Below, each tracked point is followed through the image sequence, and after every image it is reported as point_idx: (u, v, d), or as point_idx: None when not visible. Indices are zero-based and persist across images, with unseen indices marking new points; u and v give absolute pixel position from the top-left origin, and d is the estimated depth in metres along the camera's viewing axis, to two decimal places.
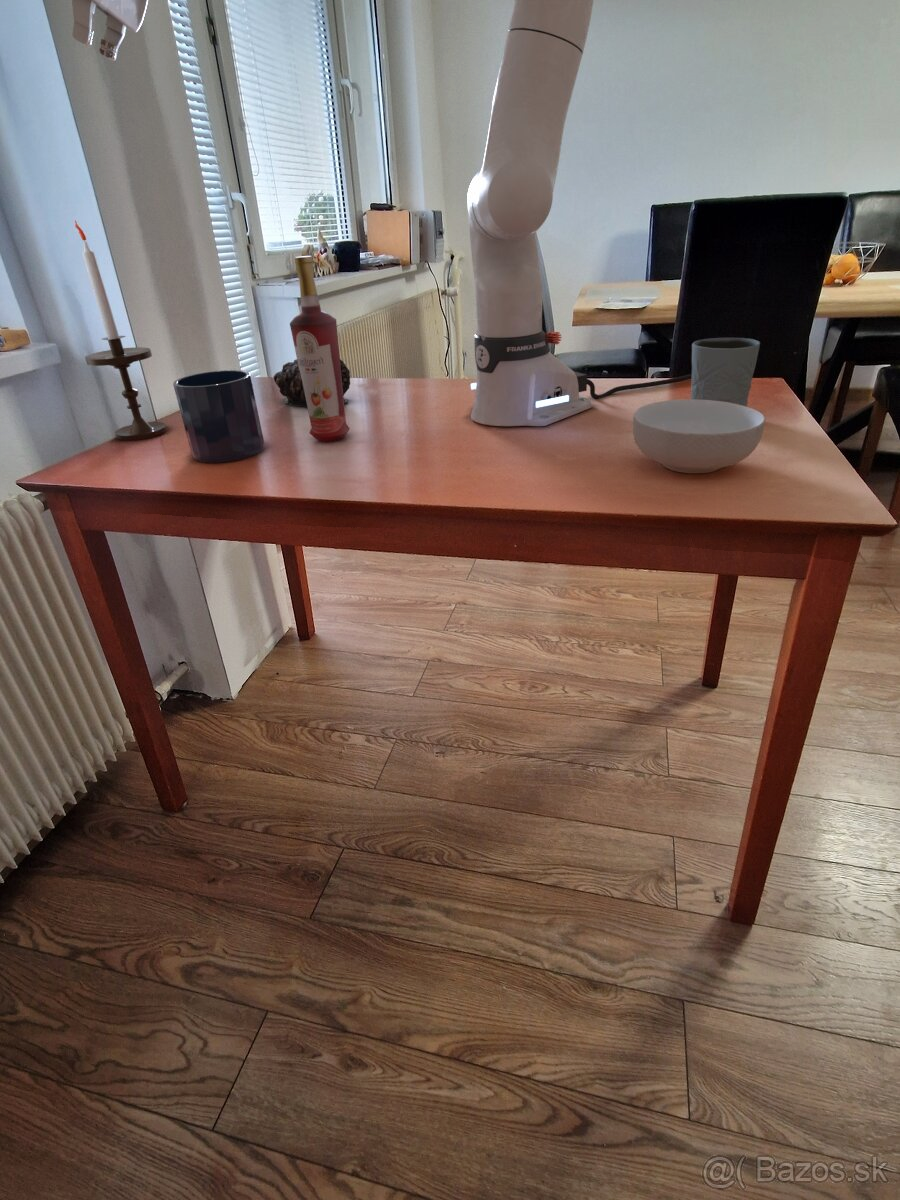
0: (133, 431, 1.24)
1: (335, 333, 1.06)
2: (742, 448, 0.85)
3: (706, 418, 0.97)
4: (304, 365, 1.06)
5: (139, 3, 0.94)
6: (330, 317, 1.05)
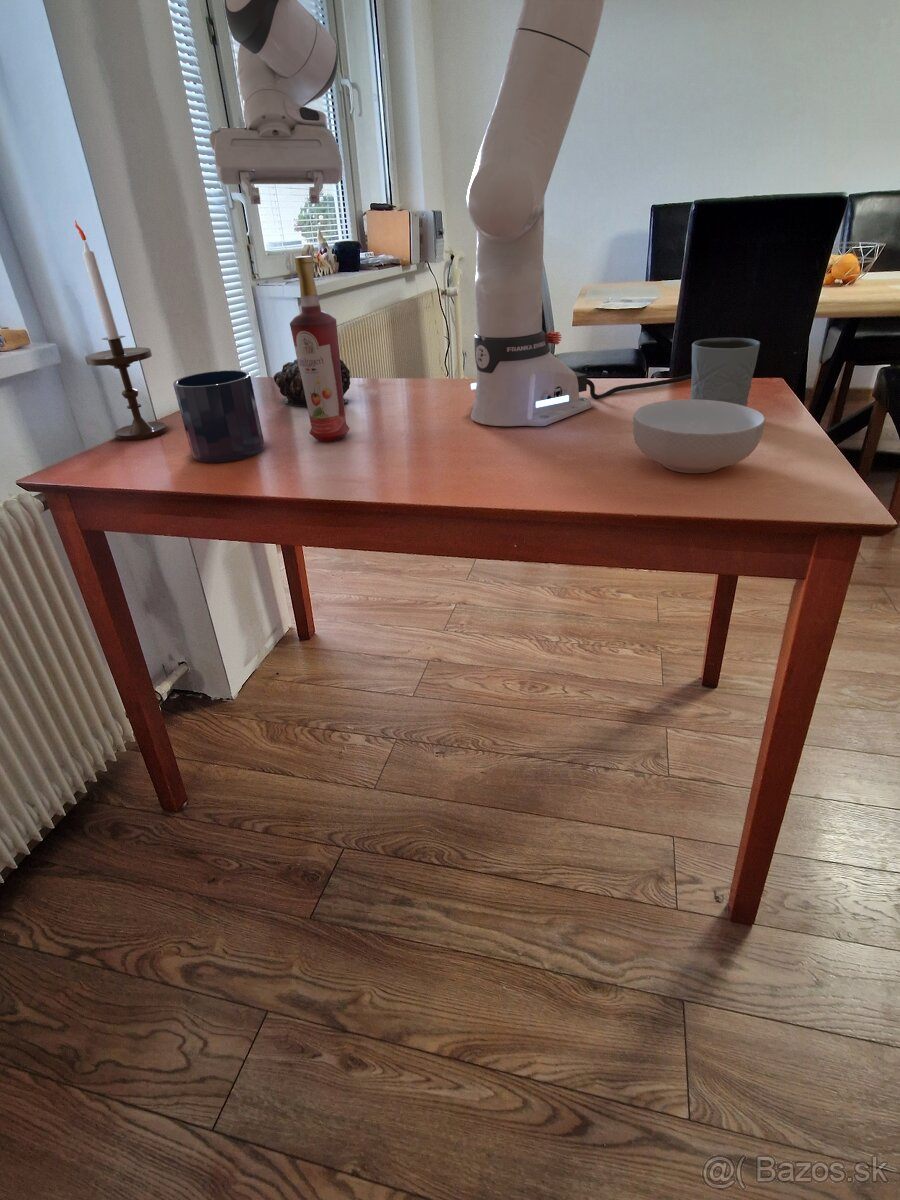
0: (133, 431, 1.24)
1: (335, 333, 1.06)
2: (742, 448, 0.85)
3: (706, 418, 0.97)
4: (304, 365, 1.06)
5: (325, 150, 1.09)
6: (330, 317, 1.05)
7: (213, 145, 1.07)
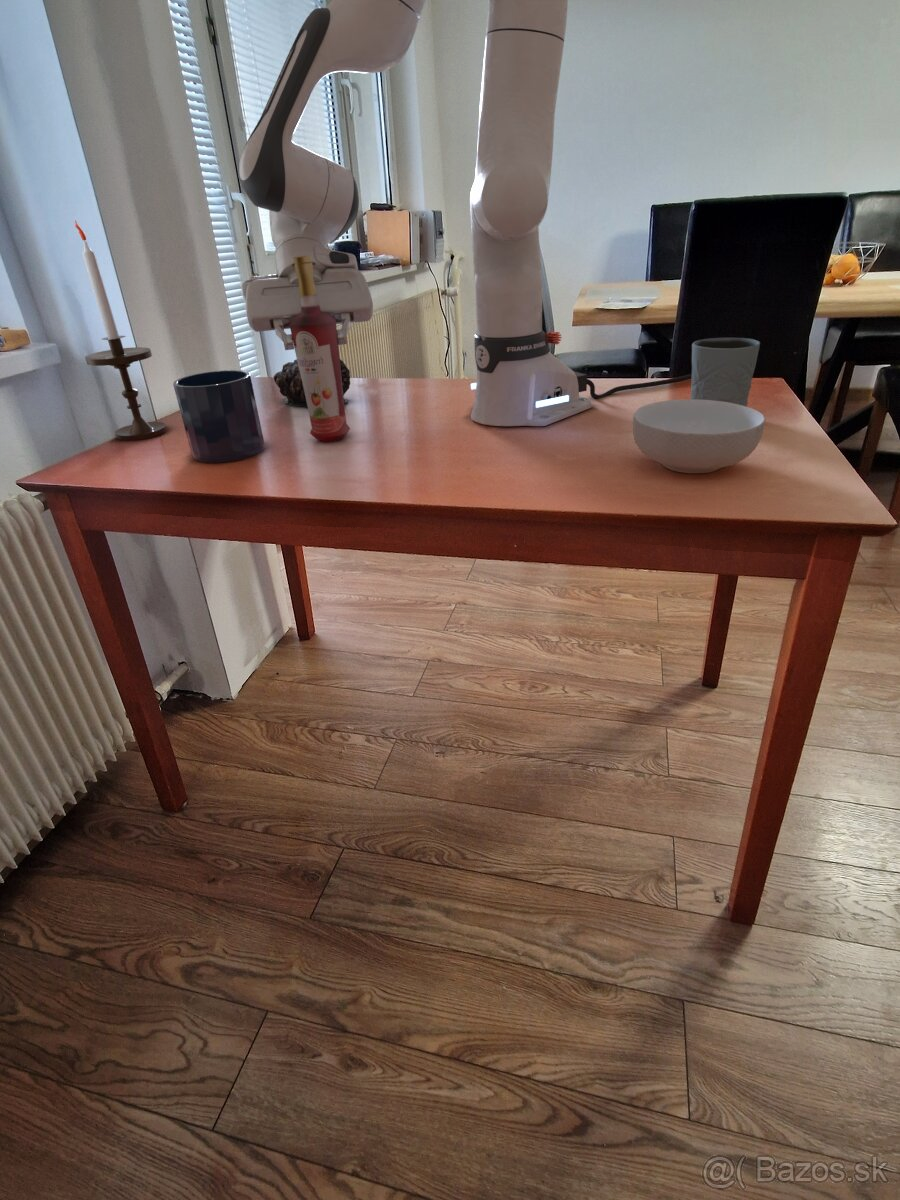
0: (133, 431, 1.24)
1: (335, 333, 1.06)
2: (742, 448, 0.85)
3: (706, 418, 0.97)
4: (304, 365, 1.06)
5: (355, 291, 1.08)
6: (330, 317, 1.04)
7: (245, 295, 1.07)
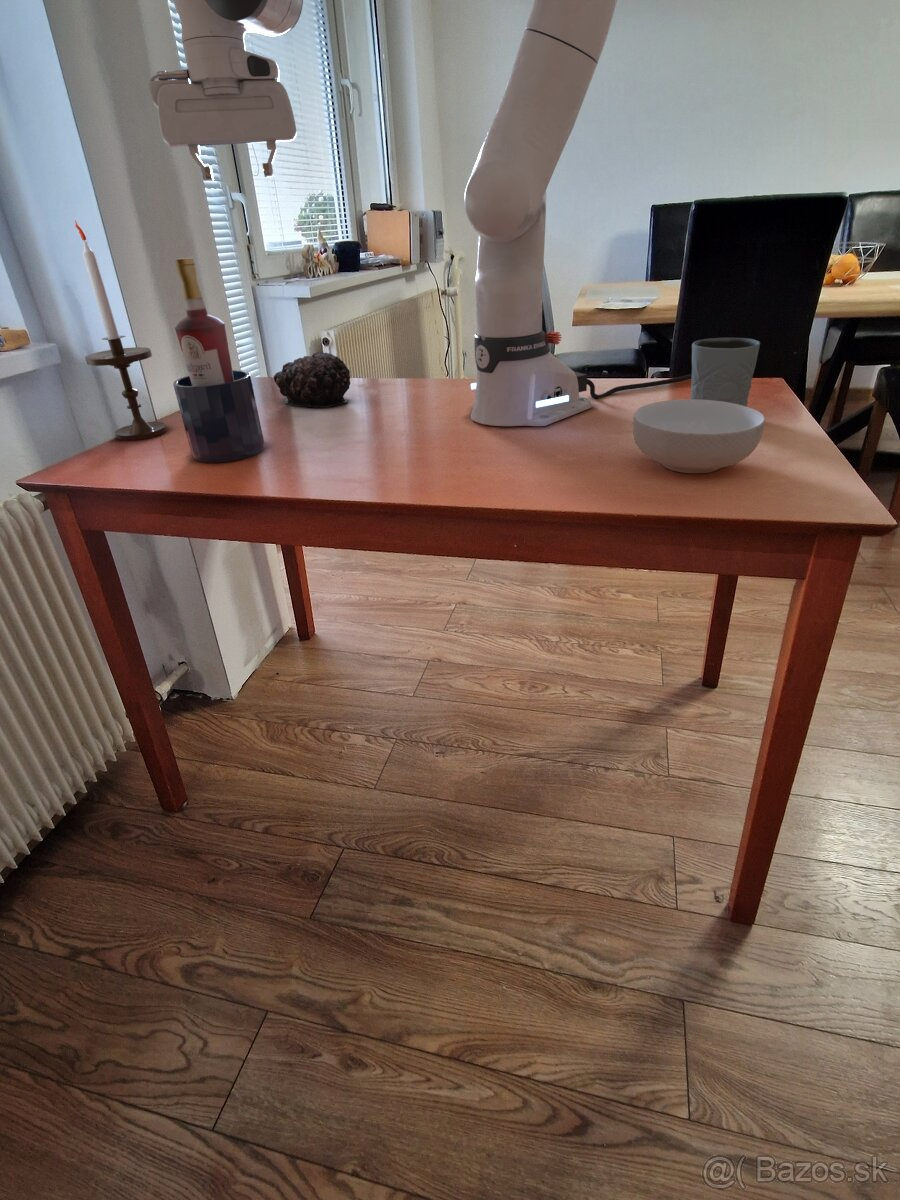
0: (133, 431, 1.24)
1: (223, 337, 1.02)
2: (742, 448, 0.85)
3: (706, 418, 0.97)
4: (191, 370, 1.03)
5: (278, 112, 1.02)
6: (216, 321, 1.01)
7: (155, 101, 0.99)
